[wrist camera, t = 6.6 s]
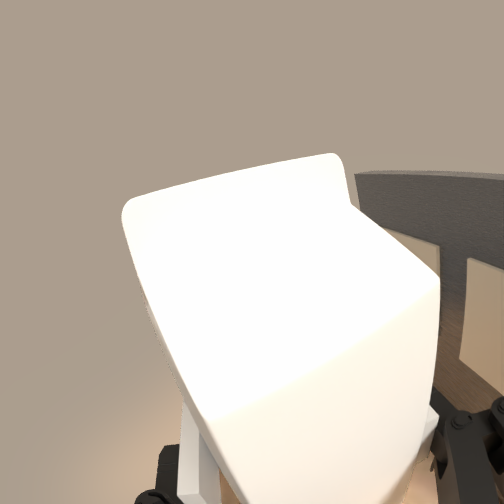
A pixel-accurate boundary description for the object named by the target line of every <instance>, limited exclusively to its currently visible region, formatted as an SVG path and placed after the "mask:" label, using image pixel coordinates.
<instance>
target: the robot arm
mask: <svg viewBox="0 0 504 504" xmlns="http://www.w3.org/2000/svg"><path fill="white" fill-rule="evenodd" d="M180 436H181V437H180V444H176V445H167V446H164V448H163V449H162V451H161V453H160V454H159V460H158V468H157V478H156V486H155V489H152V490H147V491H145V492H143V493H141V494H140V495H139V496H138V497H137V498H136V501H135V503H134V504H222V501H221V489H220V476H219V466H218V464H217V463H216V461H215V459H214V457H213V456H212V454H211V452H210V450H209V448H208V446H207V444H206V443H205V441H204V439H203V437H202V435H201V433H200V431H199V429H198V427H197V425H196V423H195V421H194V419H193V417H192V415H191V413H190V411H189V409H188V407H187V405H186V403H185V401H184V399H183V411H182V423H181V435H180ZM430 450H431V452H432V453H433V454H434V459H433V462H432V465H431V468H430V472H431V471H433V469H434V470H435V477H436V484H437V493H438V502H439V504H499V500H498V495H497V491H496V486H497V487H498V489H499V491H500V493H501V494H502V496H503V498H504V396H501V397H499V398H497V399H496V400H494V401H493V403H492V405H491V408H490V409H487V410H484V411H481V412H477V413H473V414H472V413H470V412H469V411H465V410H457V409H456V408H455V407H454V406H453V405H452V404H451V403H450V402H449V401H448V400H447V399H446V398H445V397H444V396H443V395H442V394H441V393H440V392H439V391H438V390H437V389H436V388H435V387H434V386H433V385H432V390H431V396H430V402H429V407H428V412H427V417H426V422H425V427H424V431H423V436H422V440H421V444H420V448H419V452H418V455H417V459H416V463H415V464H417V463H419V462H421V461H423V460H424V459H426V458H428V455H429V452H430ZM495 484H496V486H495Z"/></svg>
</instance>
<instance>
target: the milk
mask: <svg viewBox="0 0 504 504" xmlns="http://www.w3.org/2000/svg"><path fill="white" fill-rule="evenodd" d="M122 224H123V229H124V232H125V236H126V239H127V243H128V246H129V249H130V253H131V256H132V259H133V262H134V265H135V268H136V272H137V275H138V280H139V284H140V288H141V292H142V295H143V300H144V304H145V307H146V310H147V312H148V315H149V318H150V320H151V323H152V325H153V328H154V331H155V333H156V336H157V338H158V341H159V343H160V346H161V348H162V351H163V353H164V355H165V358H166V360H167V362H168V365H169V367H170V370H171V372H172V374H173V377H174V379H175V381H176V383H177V386H178V388H179V390H180V392H181V394H182V396H183V399H184V401H185V403H186V405H187V407H188V409H189V411H190V413H191V415H192V417H193V419H194V421H195V423H196V425H197V427H198V429H199V431H200V433H201V435H202V437H203V439H204V441H205V443H206V444H207V446H208V448H209V450H210V452H211V454H212V456H213V457H214V459H215V461H216V463H217V464H218V466H219V468H220V470H221V472H222V473H223V475H224V477H225V478H226V480H227V482H228V483H229V485H230V487H231V488H232V490H233V492H234V493H235V495H236V497H237V498H238V500H239V501H240V503H241V504H402V503H403V500H404V497H405V495H406V492H407V489H408V486H409V483H410V479H411V476H412V473H413V470H414V466H415V463H416V459H417V455H418V452H419V448H420V444H421V440H422V436H423V431H424V427H425V422H426V417H427V412H428V407H429V402H430V396H431V390H432V383H433V376H434V369H435V361H436V352H437V341H438V329H439V311H440V279H439V277H438V276H437V275H436V274H435V273H434V272H433V271H432V270H431V269H430V268H429V267H428V266H427V265H425V264H424V263H423V262H422V261H421V260H420V259H419V258H417V257H416V256H415V255H414V254H413V253H412V252H410V251H409V250H408V249H407V248H406V247H404V246H403V245H402V244H401V243H400V242H398V241H397V240H396V239H395V238H393V237H392V236H391V235H390V234H389V233H387V232H386V231H385V230H384V229H382V228H381V227H380V226H378V225H377V224H376V223H375V222H373V221H372V220H371V219H370V218H368V217H367V216H366V215H364V214H363V213H362V212H360V211H359V210H358V209H356V208H355V207H354V206H353V205H351V203H350V199H349V194H348V189H347V183H346V177H345V172H344V168H343V164H342V162H341V160H340V158H339V157H338V156H337V155H336V154H334V153H328V154H322V155H316V156H311V157H304V158H299V159H293V160H288V161H283V162H278V163H273V164H268V165H263V166H258V167H253V168H249V169H244V170H239V171H235V172H231V173H226V174H222V175H218V176H213V177H210V178H205V179H201V180H197V181H193V182H189V183H185V184H182V185H178V186H174V187H170V188H167V189H163V190H160V191H156V192H152V193H149V194H145V195H142V196H138V197H136V198H133V199H131V200H129V201H128V202H127V203H126V204H125V206H124V208H123V211H122Z"/></svg>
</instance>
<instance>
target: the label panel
mask: <svg viewBox="0 0 504 504" xmlns="http://www.w3.org/2000/svg"><path fill="white" fill-rule="evenodd" d="M354 175H355V180H356V186H357V191H358V197H359V203H360V210H361V212H362V213H363V214H364V215H366V216H367V217H368V218H370V219H371V220H372V221H373V222H375V223H376V224H377V225H378V226H380V227H381V228H382V229H384V230H385V231H386V232H387V233H389V234H390V235H391V236H392V237H393V238H395V239H396V240H397V241H398V242H400V243H401V244H402V245H403V246H404V247H406V248H407V249H408V250H409V251H410V252H412V253H413V254H414V255H415V256H416V257H417V258H419V259H420V260H421V261H422V262H423V263H424V264H425V265H427V266H428V267H429V268H430V269H431V270H432V271H433V272H434V273H435V274H436V275H437V276H438V277H439V279H440V311H439V329H438V341H437V352H436V361H435V369H434V376H433V383H432V385H433V386H434V387H435V388H436V389H437V390H438V391H439V392H440V393H441V394H442V395H443V396H444V397H445V398H446V399H447V400H448V401H449V402H450V403H451V404H452V405H453V406H454V407H455V408H456V409H457V410H465V411H469V412H470V413H472V414H473V413H477V412H481V411H484V410H487V409H490V408H491V405H492V403H493V401H494V400H496V399H497V398H499V397H501V396H504V175H503V174H489V173H473V172H472V173H471V172H450V171H369V172H363V173H358V174H354ZM495 486H496V484H495ZM496 491H497V495H498V500H499V502H500V504H504V498H503V496H502V494H501V493H500V491H499V489H498V487H497V486H496Z"/></svg>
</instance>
